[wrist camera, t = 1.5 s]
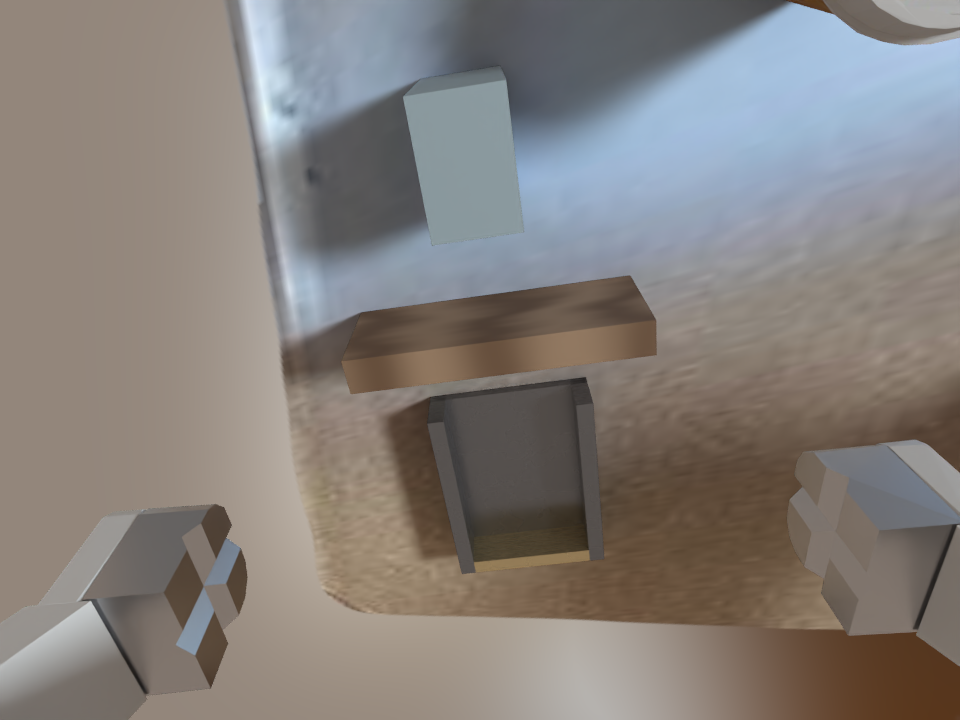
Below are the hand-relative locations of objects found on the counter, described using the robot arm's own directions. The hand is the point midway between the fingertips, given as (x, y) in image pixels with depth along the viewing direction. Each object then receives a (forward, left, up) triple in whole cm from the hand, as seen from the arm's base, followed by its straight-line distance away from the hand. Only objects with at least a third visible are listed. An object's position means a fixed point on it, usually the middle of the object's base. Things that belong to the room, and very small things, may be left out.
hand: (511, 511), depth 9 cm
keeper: (+1, +21, -27) cm, 34 cm away
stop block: (+1, -1, -27) cm, 27 cm away
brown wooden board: (+1, +9, -27) cm, 28 cm away
